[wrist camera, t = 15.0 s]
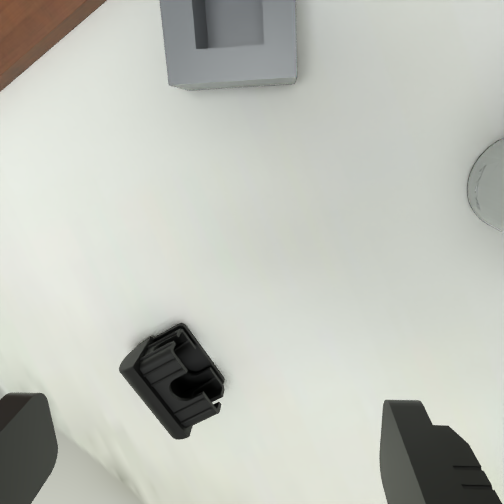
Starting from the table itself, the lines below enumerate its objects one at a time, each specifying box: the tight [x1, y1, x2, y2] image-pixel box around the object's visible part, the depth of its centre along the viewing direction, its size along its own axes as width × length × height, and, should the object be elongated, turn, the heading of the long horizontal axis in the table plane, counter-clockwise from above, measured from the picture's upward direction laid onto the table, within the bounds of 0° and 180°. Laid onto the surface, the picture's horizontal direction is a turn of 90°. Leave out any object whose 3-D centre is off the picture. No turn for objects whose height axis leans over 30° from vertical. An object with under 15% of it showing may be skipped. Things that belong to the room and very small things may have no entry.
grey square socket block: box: [160, 0, 297, 90], centre depth 34 cm, size 10×10×7 cm
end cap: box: [119, 323, 224, 439], centre depth 45 cm, size 10×7×7 cm
